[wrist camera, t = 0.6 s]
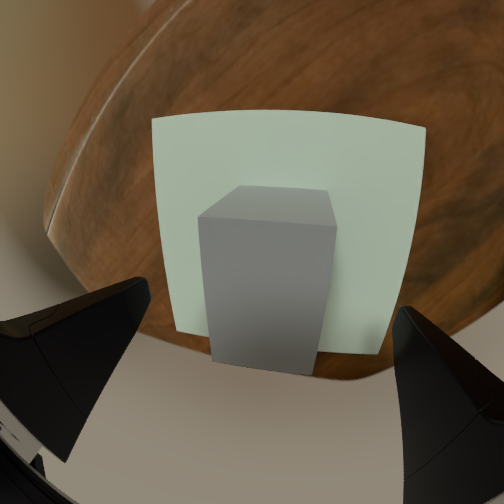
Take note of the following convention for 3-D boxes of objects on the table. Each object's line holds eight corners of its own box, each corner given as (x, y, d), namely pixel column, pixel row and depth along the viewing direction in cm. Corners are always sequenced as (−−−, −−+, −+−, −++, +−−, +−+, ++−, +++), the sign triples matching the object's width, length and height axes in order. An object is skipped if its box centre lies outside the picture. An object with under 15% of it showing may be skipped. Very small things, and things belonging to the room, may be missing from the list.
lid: (411, 128, 11) (485, 130, 5) (373, 333, 17) (387, 420, 10) (170, 119, 14) (80, 121, 7) (188, 313, 19) (141, 385, 13)
